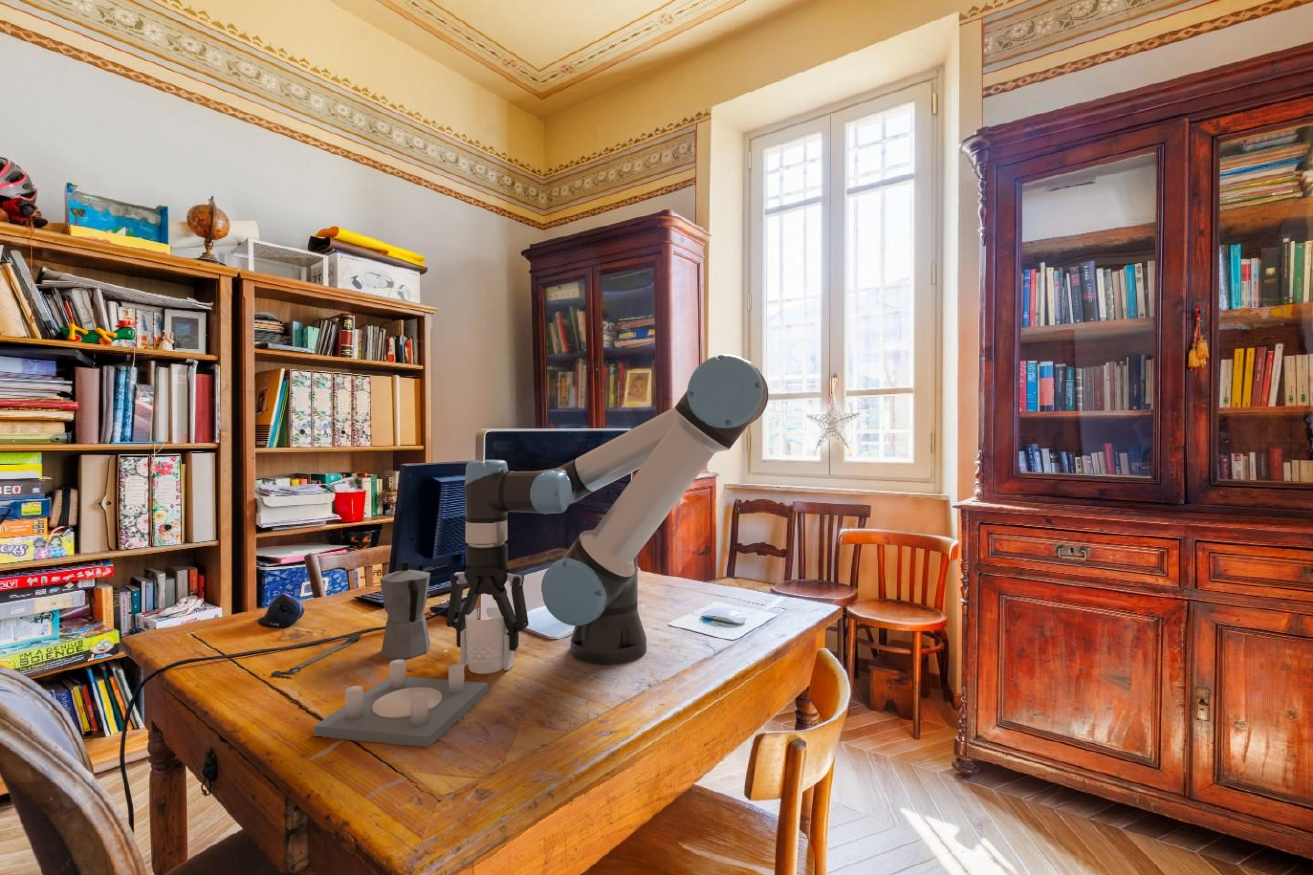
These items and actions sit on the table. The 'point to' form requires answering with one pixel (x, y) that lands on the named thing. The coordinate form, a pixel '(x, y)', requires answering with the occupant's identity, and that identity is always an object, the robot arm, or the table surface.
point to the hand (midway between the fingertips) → (487, 665)
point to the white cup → (485, 641)
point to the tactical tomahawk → (316, 657)
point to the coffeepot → (405, 613)
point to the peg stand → (403, 708)
